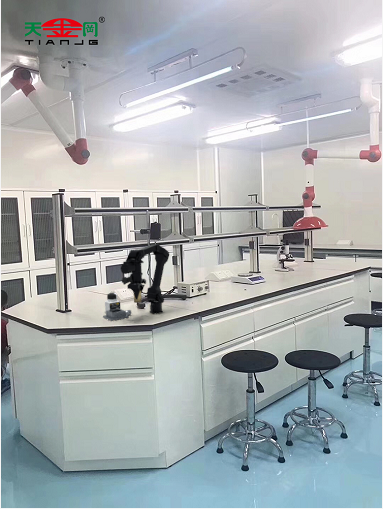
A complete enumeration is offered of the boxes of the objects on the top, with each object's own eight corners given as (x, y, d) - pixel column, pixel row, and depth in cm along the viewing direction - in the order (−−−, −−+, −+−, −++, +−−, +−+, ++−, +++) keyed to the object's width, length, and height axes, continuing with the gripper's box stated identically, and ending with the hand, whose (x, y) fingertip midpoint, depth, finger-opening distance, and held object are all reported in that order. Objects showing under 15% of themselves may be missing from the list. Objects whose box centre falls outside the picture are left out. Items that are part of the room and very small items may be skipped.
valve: (139, 300, 237) (138, 287, 236) (143, 301, 234) (142, 288, 233) (132, 301, 235) (132, 288, 234) (136, 303, 231) (135, 289, 230)
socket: (125, 313, 249) (125, 306, 248) (134, 316, 240) (134, 309, 239) (103, 317, 240) (102, 310, 239) (111, 321, 231) (111, 314, 230)
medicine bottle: (110, 314, 248) (109, 294, 247) (105, 312, 253) (104, 293, 252) (120, 312, 252) (119, 293, 251) (115, 310, 258) (114, 291, 256)
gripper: (127, 269, 243) (128, 295, 244) (117, 274, 224) (119, 301, 226) (145, 269, 241) (146, 295, 243) (137, 273, 223) (138, 301, 224)
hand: (137, 298), depth 234 cm, fingers closed on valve, 4 cm apart
